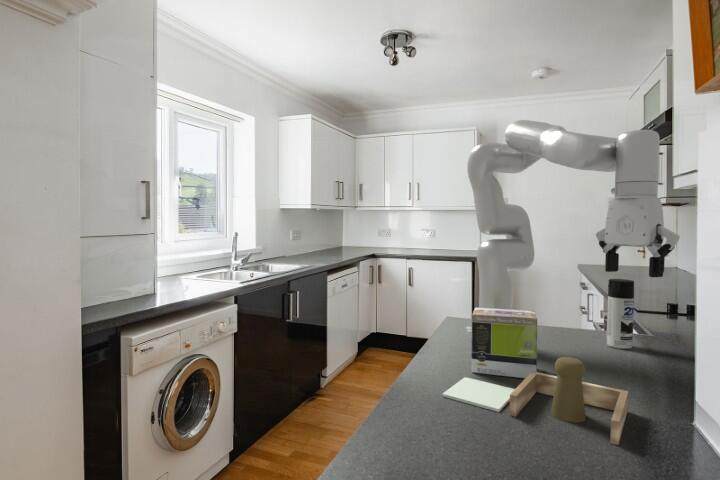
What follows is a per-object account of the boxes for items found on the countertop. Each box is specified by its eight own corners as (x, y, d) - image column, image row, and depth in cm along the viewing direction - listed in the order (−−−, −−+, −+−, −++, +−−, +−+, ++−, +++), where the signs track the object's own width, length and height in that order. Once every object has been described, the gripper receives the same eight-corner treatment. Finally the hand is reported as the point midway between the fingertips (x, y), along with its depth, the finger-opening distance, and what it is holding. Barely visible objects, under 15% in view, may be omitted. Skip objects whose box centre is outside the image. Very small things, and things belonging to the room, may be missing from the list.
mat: (442, 396, 90) (442, 393, 90) (464, 379, 100) (464, 377, 100) (498, 412, 83) (499, 409, 83) (517, 392, 93) (517, 389, 93)
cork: (590, 424, 79) (592, 365, 78) (555, 420, 80) (557, 362, 79) (580, 409, 85) (582, 355, 84) (547, 406, 86) (549, 352, 85)
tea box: (534, 367, 109) (536, 310, 108) (536, 381, 99) (538, 318, 99) (473, 360, 114) (474, 305, 113) (470, 373, 104) (471, 313, 104)
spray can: (622, 350, 124) (625, 282, 123) (600, 344, 130) (603, 278, 129) (637, 348, 126) (640, 280, 125) (615, 342, 132) (618, 277, 131)
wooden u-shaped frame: (509, 415, 82) (509, 394, 82) (531, 388, 95) (532, 371, 95) (618, 445, 71) (619, 421, 71) (627, 411, 84) (628, 391, 84)
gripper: (586, 193, 95) (584, 270, 96) (666, 188, 79) (662, 280, 80) (611, 194, 98) (608, 269, 99) (692, 189, 82) (689, 278, 83)
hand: (632, 274), depth 89 cm, fingers open, 9 cm apart
